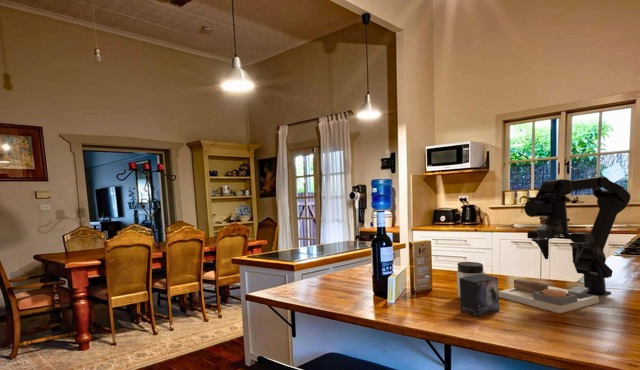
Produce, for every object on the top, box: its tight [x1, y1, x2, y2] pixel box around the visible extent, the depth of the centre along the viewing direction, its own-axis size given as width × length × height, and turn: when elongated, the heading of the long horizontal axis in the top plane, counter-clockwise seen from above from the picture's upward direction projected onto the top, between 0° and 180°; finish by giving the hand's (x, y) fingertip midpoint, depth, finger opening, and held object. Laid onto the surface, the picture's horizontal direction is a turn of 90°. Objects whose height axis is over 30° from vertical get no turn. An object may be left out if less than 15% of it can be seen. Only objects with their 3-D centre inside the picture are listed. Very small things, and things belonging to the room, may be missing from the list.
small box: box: [459, 273, 501, 318], centre depth 103 cm, size 11×6×10 cm, turn 117°
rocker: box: [567, 285, 589, 296], centre depth 108 cm, size 5×4×1 cm
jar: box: [456, 261, 486, 299], centre depth 116 cm, size 9×8×12 cm
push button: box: [543, 289, 566, 298], centre depth 104 cm, size 6×6×2 cm
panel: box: [498, 285, 600, 314], centre depth 111 cm, size 20×20×4 cm
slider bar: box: [513, 278, 549, 293], centre depth 114 cm, size 3×10×3 cm, turn 24°
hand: (560, 261), depth 114 cm, fingers open, 9 cm apart
